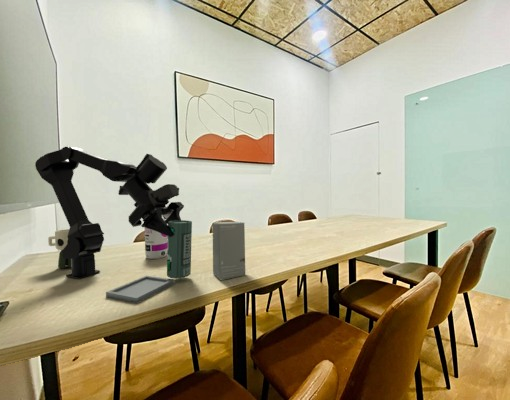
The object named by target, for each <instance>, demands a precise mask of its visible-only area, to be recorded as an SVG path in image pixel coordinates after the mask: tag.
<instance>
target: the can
mask: <svg viewBox="0 0 510 400" xmlns="http://www.w3.org/2000/svg"><path fill="white" fill-rule="evenodd" d="M167 225H168V226H169V228H170V229H171V231H172V232H173V236H172V237H169V236H167V240H168V248H167V255H166V260H167V261H166V275H167V278H169V279H175V280H176V279H183V278H187V277H189V276H190V275H191V268H192V267H191V266H192V235H193V234H192V232H193V231H192V230H193V229H192V228H193V226H192V225H193V221H191V220H183V219H181V220H175V221H168V224H167Z"/></svg>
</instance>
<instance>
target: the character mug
mask: <svg viewBox="0 0 510 400" xmlns="http://www.w3.org/2000/svg"><path fill="white" fill-rule="evenodd" d="M69 229H70V228H68V229H67V228H66V229H59V230H55V231H54V235H53V236H49V237H48V246H50V247H55V248H56V249H55V250H58V251H60V252H59V255H58V261H57V262H58V265H57V268H58V269H65V268H66V267H68V268H71V259H67V258H63V256H62V253H61V252H62V250H63V249H64V248H65V247H66V245H67V244H68V243H69V241H68V237H67V236H68V232H69ZM53 240H54V242H53Z"/></svg>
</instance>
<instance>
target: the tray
mask: <svg viewBox="0 0 510 400" xmlns="http://www.w3.org/2000/svg"><path fill="white" fill-rule="evenodd" d="M172 285H175V278H169V277H167V278H166V277H160V276H159V277H158V276H153V275H145V276H142V277H139V278H137V279H134V280H132V281H130V282H128V283H125V284H123V285H120V286H118V287H115V288H113V289H110V290H108V291H106V292H105V298H108V299H114V300H119V301H122V302H123V301H124V302H128V303H132V304H133V303H134V304H138V303H141V302H143V301H144V300H146V299H149V298H150V297H151V296H154V295H156V294H158V293H159V292H161V291H163V290H166V289H168V288H169V287H172Z"/></svg>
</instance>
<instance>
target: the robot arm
mask: <svg viewBox="0 0 510 400" xmlns="http://www.w3.org/2000/svg"><path fill="white" fill-rule="evenodd" d="M79 165H82V166H86V167H88V168H90V169H93V170H95V171H98V172H100V173H101V174H102V175H103V177H105V178H106V179H108V180H110V181H112V182H118V183H123V185H119V189H118V195H119V196H129V197H130V198H131V199H132V200H133V201H134V204H133V206H134V207H135V209H133V211H132V212H131V213H130V214H129V215H128V223H129V224H130V225H131V226H132V227H133V228H135V227H139V226H141V227H142V228H144V229H145V228H148V229H151V230H154V231H157V232H159V233H162V234H164V235H167V237H168V236H169V237H172V236H173V232H172V231H171V229H170V228H169V226H168V221H175V220H182V219H181V216H180V212H181V211H182V210H183V208H184V207H185V205H184V204H183V203H182V202H181V201H173V202H172V201H170V200H171V199H172V198H174V197H178V196H180V188H179V187H178V186H177V185H176V184H172V183H171V184H168V183H167V184H164V185H162V186H161V187H160V186H159V188H157V189H154V190H153V189H152V188H151V187H150V185H149V184H156V182H157V181H158V180H159V179H160V178H161V177H162V176H163V174H164V173H165V172H166V171H167V169H168V167H167V165H166V164H165V163H164V162H163V161H161V160H159V159H158V158H156V157H154V155H152V154H150V153H146V154H145V155H144V157H143V158H142V160H141V161H140V162H139V164H138V165H137V166H136V165H134V164H133V163H127V162H122V161H117V160H116V161H115V160H110V159H107V158H104V157H101V156H99V155H96V154H94V153H91V152H88V151H85V150H83V149H82V148H79V147H75V146H68V145H67V146H64V147H62V148H60V149H58V150H55V151H52V152H48V153H46V154H44V155H42V156H40V157H39V158H38V159H37V160H36V161H35V165H34V166H35V170H36V171H37V173H38V175H39V176H40V177H41V179H42V180H44V181H45V182H46V183H47V184H49V185H50V186H51V187H52V189H53V191H54V194H55V196H56V198H57V201H58V202H59V205H60V208H61V210H62V212H63V213H64V214H63V215H64V216H65V219H66V221H67V223H68V225H69V228H68V229H69V232H68V236H67V237H68V241H69V243H68V244H67V245H66V247H65V248H64V249H63V250H62V252H61V253H62V256H63V258H67V259H71V267H70V268H71V269H70V270H71V272H70V273H68V274H65V277H67V278H72V279H78V280H79V279H80V280H81V279H83V278H85V277H89V276H92V275H96V274H98V273H101V270H99V269H96V259H95V257H96V256H95V254H96V253H100V252H101V250H102V248H103V247H102V246H103V243H104V241H105V237H104V235H105V233H104V231H103V230H102V228H101V225H100V223H98V222H95V223H93V222H91V221H90V220H89V218H88V216H87V213H86V211H85V210H84V206H83V205H82V202H81V200H80V198H79V196H78V193H77V191H76V189H75V187H74V185H73V182H72V180H73V176H74V170H76V169H77V168H78V167H79ZM169 202H170V203H169ZM166 205H167V206H166ZM163 218H164V219H165V221H164V220H163ZM166 223H167V224H166Z"/></svg>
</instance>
